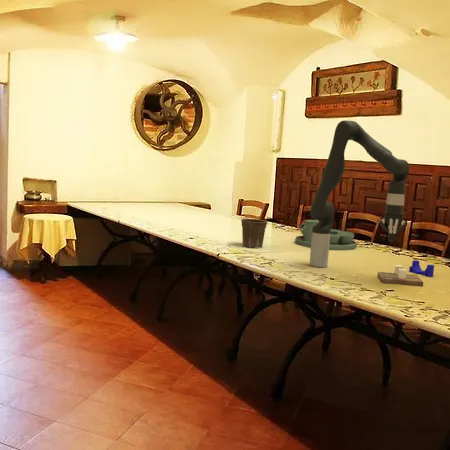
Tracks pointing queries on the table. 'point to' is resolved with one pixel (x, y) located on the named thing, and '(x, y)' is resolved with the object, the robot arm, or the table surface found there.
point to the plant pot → (253, 232)
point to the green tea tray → (337, 237)
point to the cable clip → (417, 270)
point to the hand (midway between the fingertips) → (391, 241)
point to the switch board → (394, 279)
